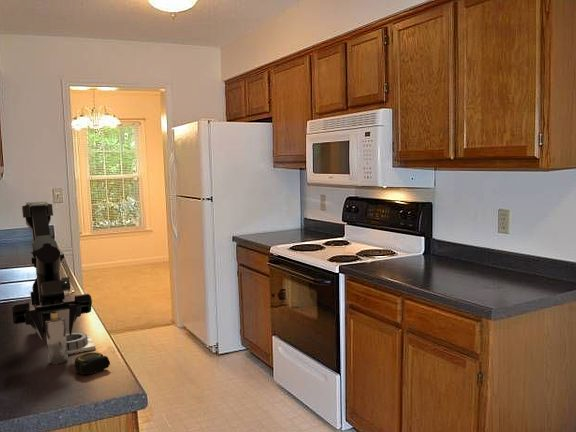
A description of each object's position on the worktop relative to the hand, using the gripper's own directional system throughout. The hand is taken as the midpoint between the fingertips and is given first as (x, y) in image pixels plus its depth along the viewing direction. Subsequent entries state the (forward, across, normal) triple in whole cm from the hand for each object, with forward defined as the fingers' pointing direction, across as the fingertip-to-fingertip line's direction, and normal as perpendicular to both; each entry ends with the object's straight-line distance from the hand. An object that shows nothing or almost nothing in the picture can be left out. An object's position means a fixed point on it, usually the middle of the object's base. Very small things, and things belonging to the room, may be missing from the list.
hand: (56, 337), depth 137 cm
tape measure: (+13, +7, -3) cm, 15 cm away
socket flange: (-3, +4, +12) cm, 13 cm away
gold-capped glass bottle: (+4, 0, +6) cm, 7 cm away
